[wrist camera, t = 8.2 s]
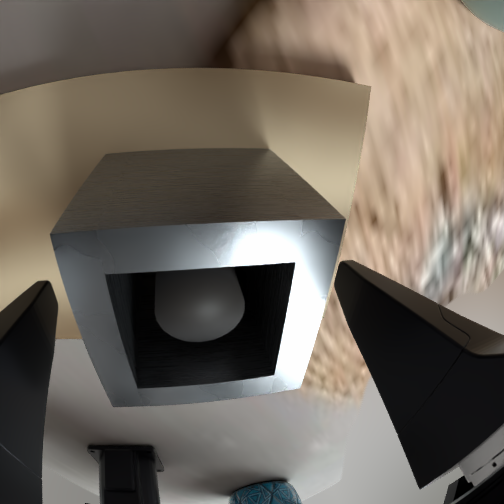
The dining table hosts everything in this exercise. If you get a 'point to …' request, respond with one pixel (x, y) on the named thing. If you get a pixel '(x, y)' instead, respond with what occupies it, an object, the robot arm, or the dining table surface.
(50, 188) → the board
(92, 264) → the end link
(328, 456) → the dining table surface
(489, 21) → the cup
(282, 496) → the lamp
